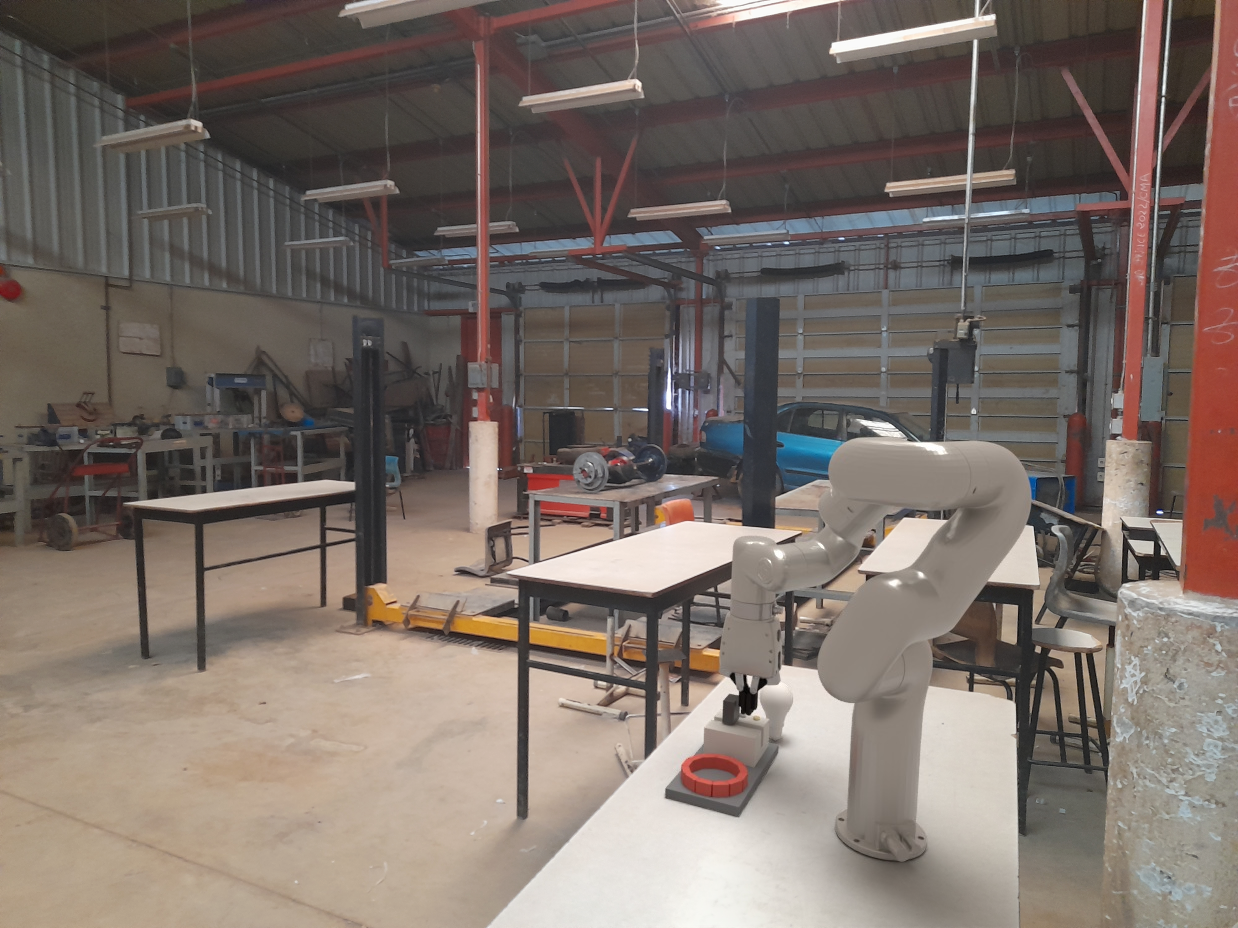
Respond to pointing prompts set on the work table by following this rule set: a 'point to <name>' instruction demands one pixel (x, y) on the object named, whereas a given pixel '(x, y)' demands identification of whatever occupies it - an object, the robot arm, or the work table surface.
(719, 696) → the work table surface
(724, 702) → the block
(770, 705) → the lightbulb
